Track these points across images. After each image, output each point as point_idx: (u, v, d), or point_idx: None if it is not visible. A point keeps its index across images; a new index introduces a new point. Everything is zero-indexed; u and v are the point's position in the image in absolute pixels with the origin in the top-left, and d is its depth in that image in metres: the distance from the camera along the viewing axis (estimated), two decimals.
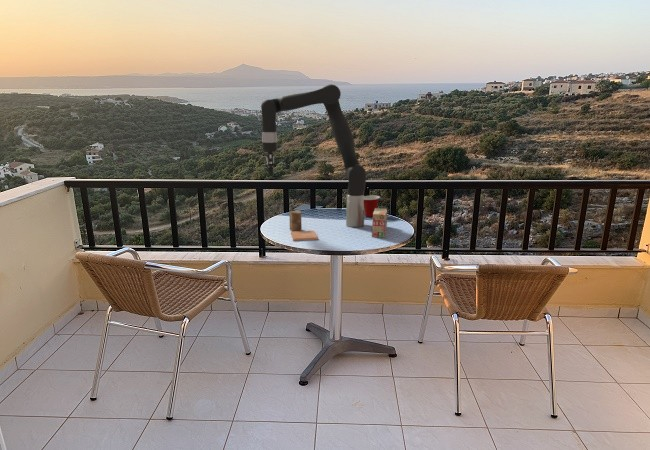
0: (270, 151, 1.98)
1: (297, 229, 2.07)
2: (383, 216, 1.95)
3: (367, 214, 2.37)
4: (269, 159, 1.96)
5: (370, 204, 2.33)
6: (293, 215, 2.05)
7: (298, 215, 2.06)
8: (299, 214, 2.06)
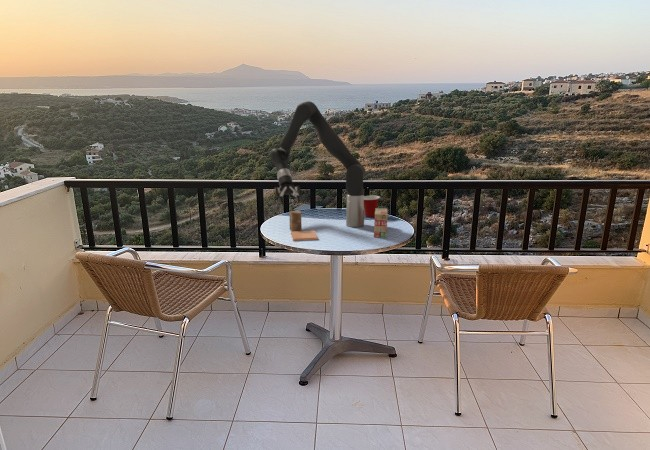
0: None
1: (297, 229, 2.07)
2: (385, 216, 1.95)
3: (367, 214, 2.37)
4: (275, 192, 2.16)
5: (370, 204, 2.33)
6: (294, 215, 2.05)
7: (298, 215, 2.06)
8: (299, 214, 2.06)
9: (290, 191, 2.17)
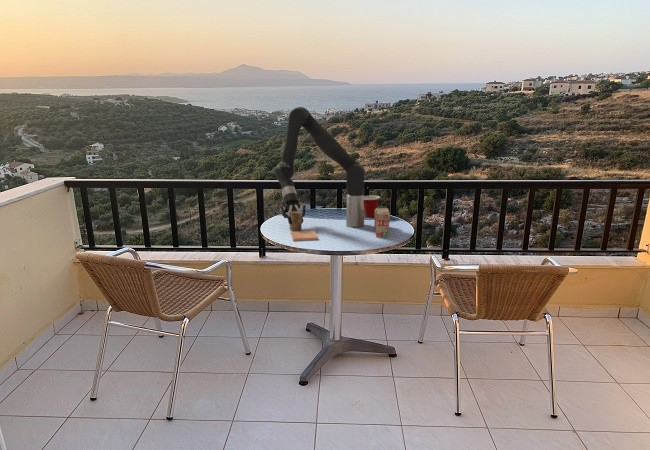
0: (285, 203, 2.11)
1: (297, 229, 2.07)
2: (387, 216, 1.96)
3: (367, 214, 2.37)
4: (281, 212, 2.09)
5: (370, 204, 2.33)
6: (293, 215, 2.05)
7: (298, 215, 2.06)
8: (299, 214, 2.06)
9: (294, 209, 2.10)
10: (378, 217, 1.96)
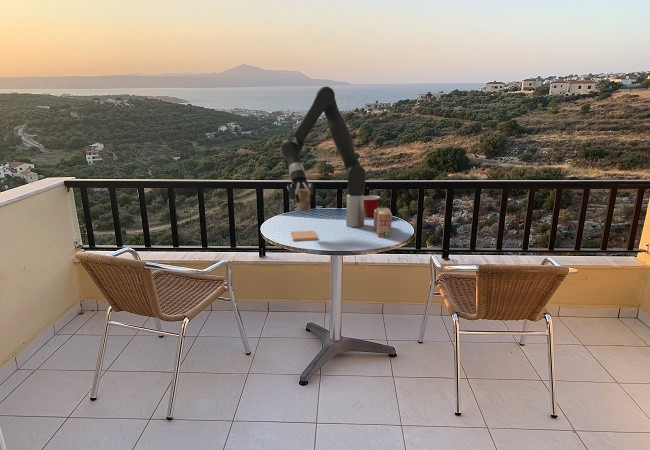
0: (292, 181, 1.97)
1: (305, 208, 1.93)
2: (390, 215, 1.96)
3: (367, 214, 2.37)
4: (288, 190, 1.95)
5: (370, 204, 2.33)
6: (301, 193, 1.91)
7: (306, 193, 1.91)
8: (307, 192, 1.92)
9: (302, 187, 1.96)
10: (380, 217, 1.97)
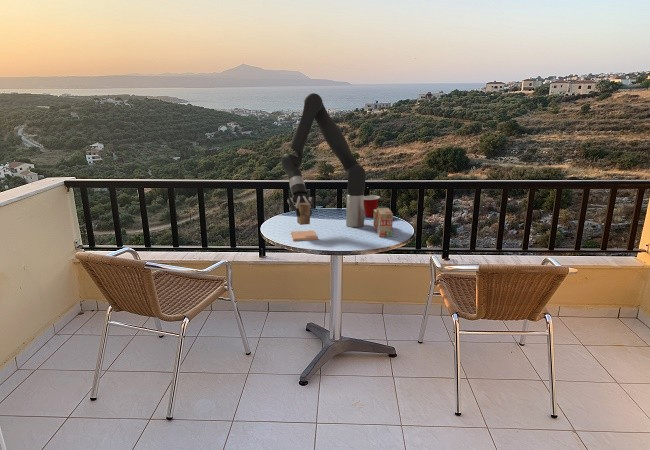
0: (292, 195, 1.98)
1: (305, 222, 1.95)
2: (391, 215, 1.97)
3: (367, 214, 2.37)
4: (289, 203, 1.96)
5: (370, 204, 2.33)
6: (302, 207, 1.92)
7: (307, 207, 1.93)
8: (308, 206, 1.93)
9: (302, 201, 1.97)
10: (381, 217, 1.97)
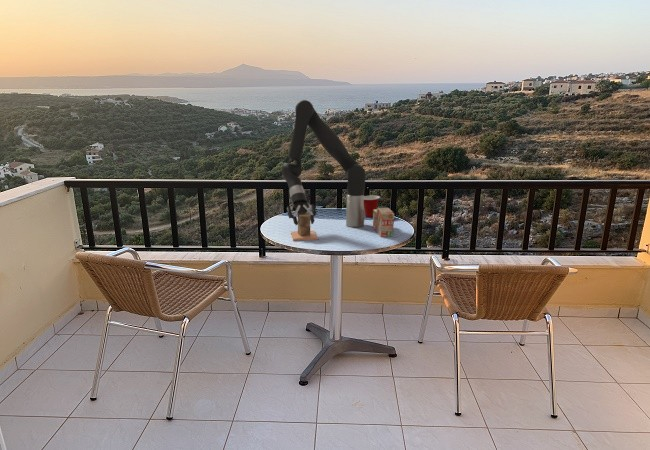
0: (292, 204, 2.00)
1: (306, 233, 1.96)
2: (392, 215, 1.97)
3: (367, 214, 2.37)
4: None
5: (370, 204, 2.34)
6: (302, 219, 1.94)
7: (307, 218, 1.94)
8: (308, 217, 1.94)
9: (304, 210, 1.98)
10: (383, 217, 1.97)
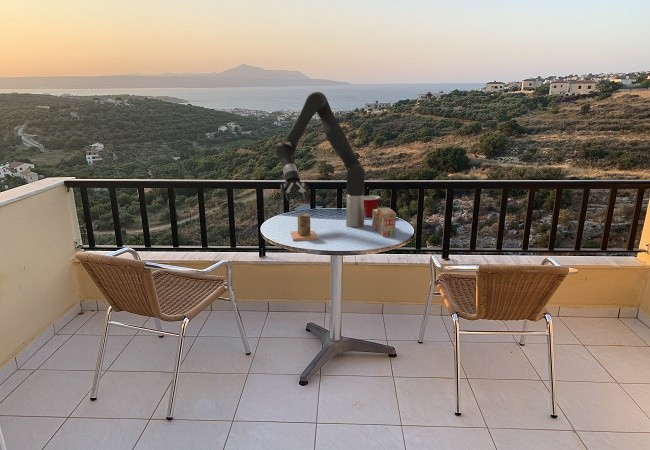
0: (286, 181, 2.08)
1: (306, 233, 1.96)
2: (394, 215, 1.98)
3: (367, 214, 2.37)
4: (281, 188, 2.06)
5: (370, 204, 2.33)
6: (302, 219, 1.94)
7: (307, 218, 1.94)
8: (308, 217, 1.94)
9: (297, 187, 2.07)
10: (385, 217, 1.97)
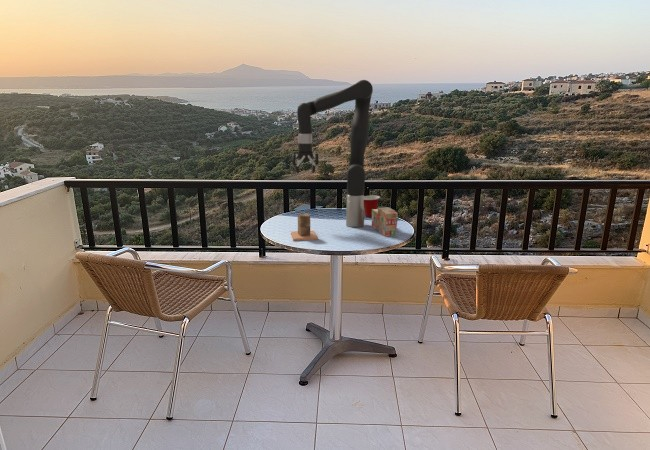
0: (298, 151, 2.11)
1: (306, 233, 1.96)
2: (395, 215, 1.98)
3: (367, 214, 2.37)
4: (292, 158, 2.12)
5: (370, 204, 2.33)
6: (302, 219, 1.94)
7: (307, 218, 1.94)
8: (308, 217, 1.94)
9: (307, 160, 2.13)
10: (387, 216, 1.98)
